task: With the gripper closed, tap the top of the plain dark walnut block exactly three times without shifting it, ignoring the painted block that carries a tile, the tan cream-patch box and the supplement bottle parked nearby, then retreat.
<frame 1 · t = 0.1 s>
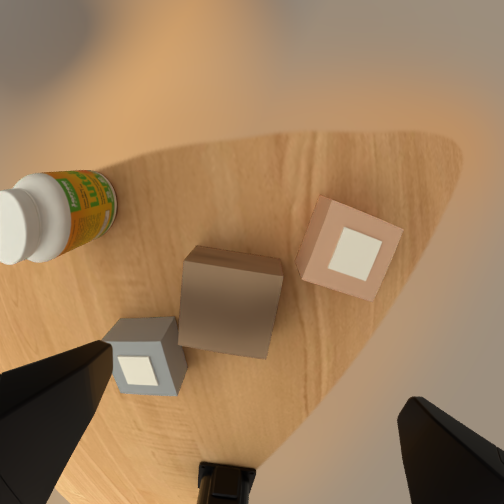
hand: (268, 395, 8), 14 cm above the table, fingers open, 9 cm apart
slate numeral block: (154, 343, 24), on the table
walnut block: (232, 290, 23), on the table
supplement bottle: (90, 204, 21), on the table
tan cream-patch box: (338, 239, 21), on the table
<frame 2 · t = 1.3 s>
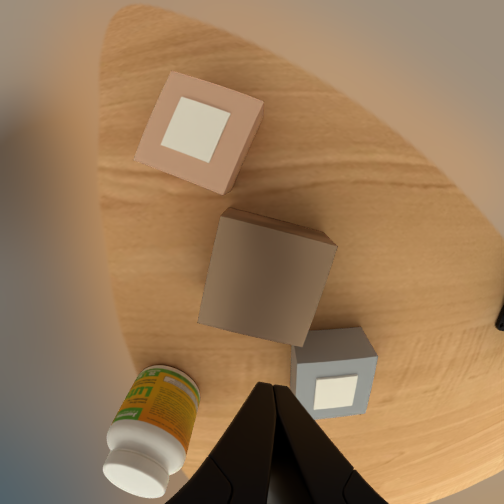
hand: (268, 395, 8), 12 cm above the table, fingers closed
slate numeral block: (324, 357, 21), on the table
walnut block: (264, 264, 19), on the table
supplement bottle: (169, 387, 22), on the table
tan cream-patch box: (209, 138, 18), on the table
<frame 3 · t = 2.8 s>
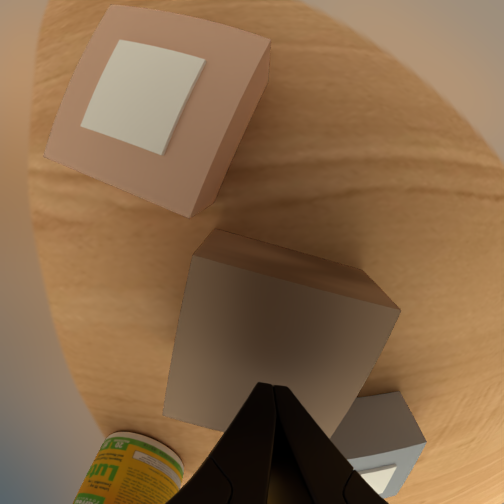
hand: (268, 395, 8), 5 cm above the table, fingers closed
slate numeral block: (347, 428, 14), on the table
walnut block: (268, 317, 12), on the table
supplement bottle: (145, 453, 15), on the table
tan cream-patch box: (180, 117, 10), on the table
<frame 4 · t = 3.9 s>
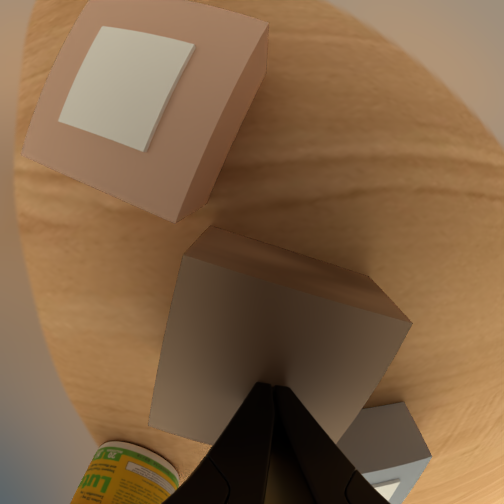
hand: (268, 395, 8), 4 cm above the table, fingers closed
slate numeral block: (349, 439, 13), on the table
walnut block: (266, 323, 11), on the table, touching gripper
supplement bottle: (139, 463, 14), on the table
tan cream-patch box: (170, 112, 9), on the table
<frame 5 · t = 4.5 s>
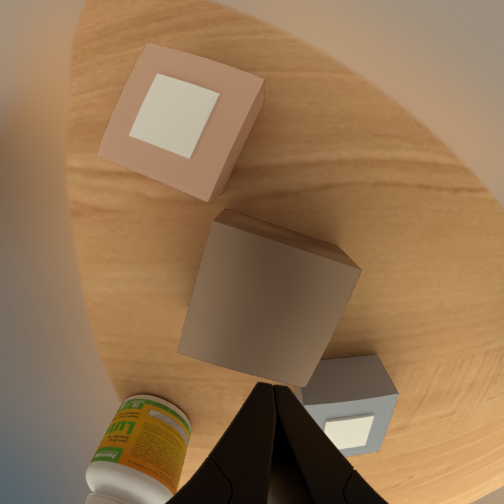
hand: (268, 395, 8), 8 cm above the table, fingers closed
slate numeral block: (333, 388, 18), on the table
walnut block: (263, 281, 16), on the table
supplement bottle: (156, 417, 19), on the table
tan cream-patch box: (196, 129, 14), on the table
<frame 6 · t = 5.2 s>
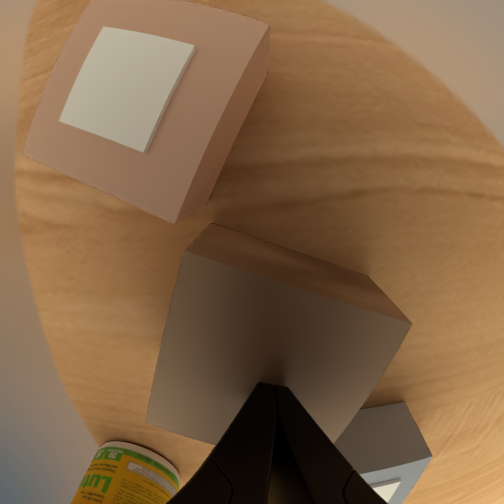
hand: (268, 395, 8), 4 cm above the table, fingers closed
slate numeral block: (349, 439, 13), on the table
walnut block: (265, 321, 11), on the table
supplement bottle: (140, 463, 14), on the table
tan cream-patch box: (171, 112, 10), on the table
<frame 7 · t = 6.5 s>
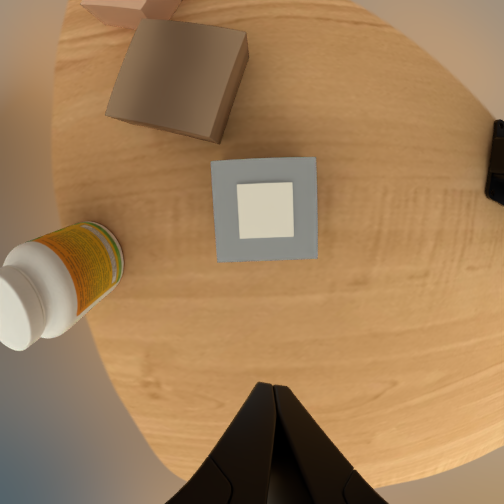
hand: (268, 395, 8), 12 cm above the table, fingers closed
slate numeral block: (264, 202, 18), on the table
walnut block: (189, 89, 17), on the table
supplement bottle: (94, 256, 20), on the table
tan cream-patch box: (148, 2, 15), on the table
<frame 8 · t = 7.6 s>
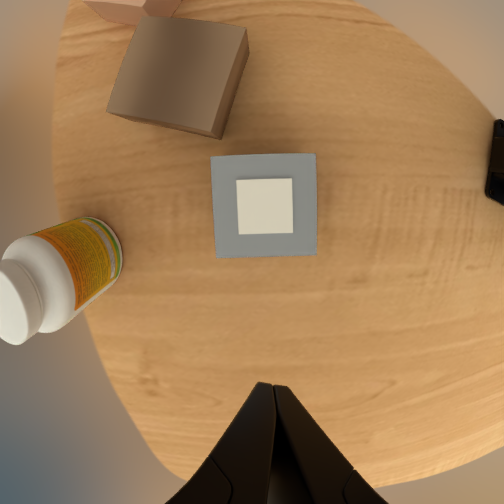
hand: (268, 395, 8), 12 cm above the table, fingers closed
slate numeral block: (264, 199, 18), on the table
walnut block: (189, 85, 17), on the table
supplement bottle: (93, 252, 20), on the table
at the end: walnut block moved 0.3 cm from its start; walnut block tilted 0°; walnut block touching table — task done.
